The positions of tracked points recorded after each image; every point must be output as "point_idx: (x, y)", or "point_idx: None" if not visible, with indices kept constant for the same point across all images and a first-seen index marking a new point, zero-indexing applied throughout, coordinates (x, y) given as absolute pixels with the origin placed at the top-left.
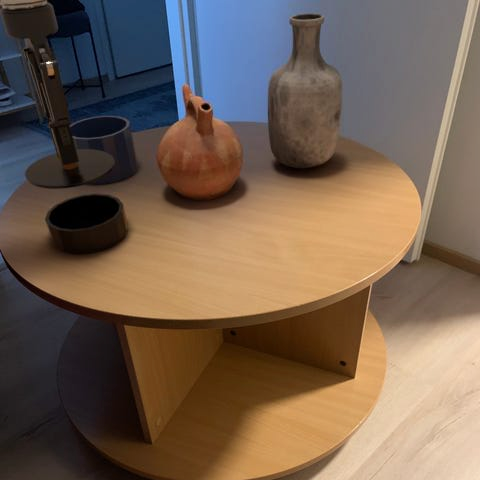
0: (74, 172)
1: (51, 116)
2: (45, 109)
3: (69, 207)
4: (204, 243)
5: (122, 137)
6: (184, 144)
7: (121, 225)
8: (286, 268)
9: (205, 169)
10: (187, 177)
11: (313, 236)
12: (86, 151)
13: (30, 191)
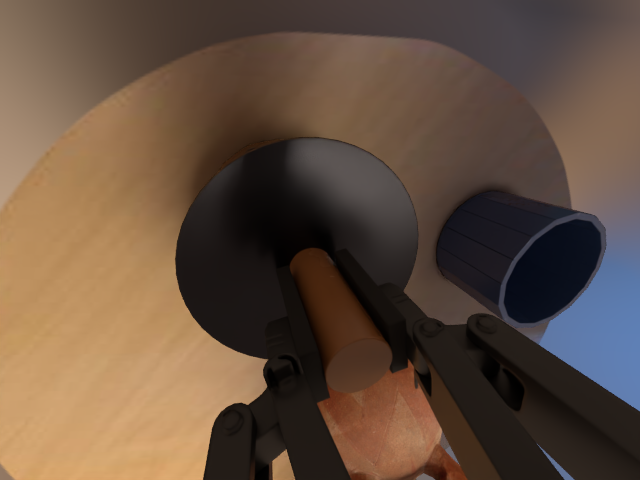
0: (263, 280)
1: (283, 424)
2: (430, 360)
3: None
4: (193, 366)
5: (493, 310)
6: (351, 439)
7: None
8: (97, 451)
9: None
10: None
11: (174, 471)
12: None
13: (490, 100)
